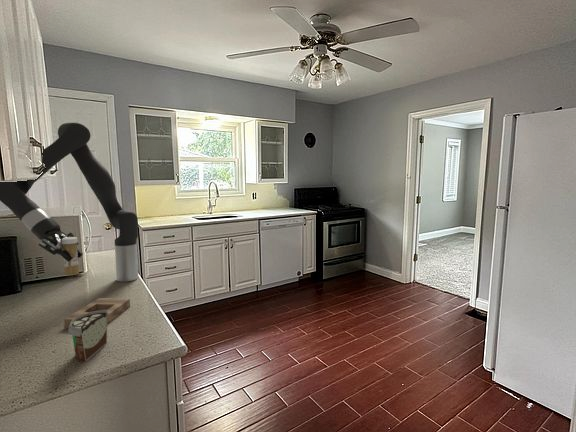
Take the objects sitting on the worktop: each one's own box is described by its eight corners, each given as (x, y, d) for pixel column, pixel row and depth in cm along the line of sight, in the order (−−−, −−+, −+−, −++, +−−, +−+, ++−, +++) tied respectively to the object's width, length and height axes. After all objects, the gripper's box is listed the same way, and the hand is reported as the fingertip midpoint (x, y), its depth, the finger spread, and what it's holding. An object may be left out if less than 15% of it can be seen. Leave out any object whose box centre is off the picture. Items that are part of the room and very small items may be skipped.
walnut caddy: (99, 305, 119) (98, 297, 119) (130, 306, 119) (129, 298, 118) (64, 327, 101) (64, 319, 101) (100, 328, 101) (100, 320, 100)
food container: (90, 340, 94) (88, 308, 93) (110, 340, 94) (108, 309, 93) (59, 364, 82) (56, 328, 81) (81, 365, 82) (79, 329, 80)
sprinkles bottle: (79, 274, 113) (76, 238, 111) (63, 276, 110) (61, 239, 109) (79, 271, 117) (77, 236, 115) (64, 272, 114) (62, 237, 112)
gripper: (30, 219, 104) (68, 256, 105) (62, 214, 118) (95, 246, 119) (16, 235, 105) (54, 270, 106) (50, 228, 119) (83, 259, 120)
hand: (76, 257), depth 113 cm, fingers closed on sprinkles bottle, 4 cm apart
